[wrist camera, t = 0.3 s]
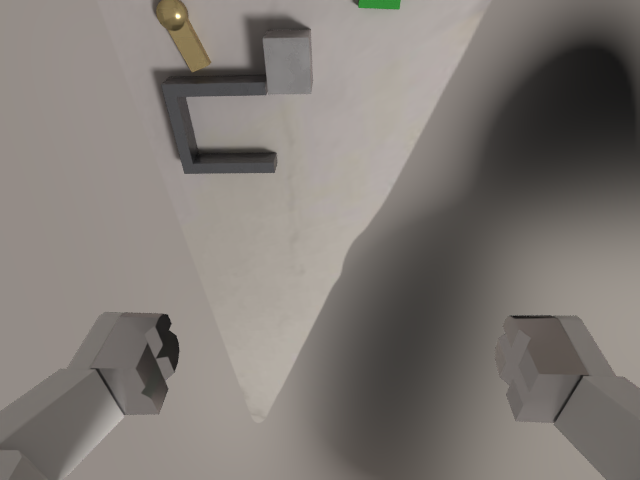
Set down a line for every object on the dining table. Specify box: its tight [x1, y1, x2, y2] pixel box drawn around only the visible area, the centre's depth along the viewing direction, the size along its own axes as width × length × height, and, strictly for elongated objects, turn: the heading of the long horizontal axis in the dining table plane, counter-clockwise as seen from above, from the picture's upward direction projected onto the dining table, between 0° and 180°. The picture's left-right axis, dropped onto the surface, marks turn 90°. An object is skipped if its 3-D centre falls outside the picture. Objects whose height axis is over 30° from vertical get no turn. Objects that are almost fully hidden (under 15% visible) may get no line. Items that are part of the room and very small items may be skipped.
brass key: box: [156, 0, 211, 72], centre depth 48 cm, size 8×3×1 cm, turn 22°
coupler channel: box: [161, 75, 277, 174], centre depth 54 cm, size 12×12×3 cm
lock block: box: [263, 29, 313, 94], centre depth 48 cm, size 6×5×4 cm
